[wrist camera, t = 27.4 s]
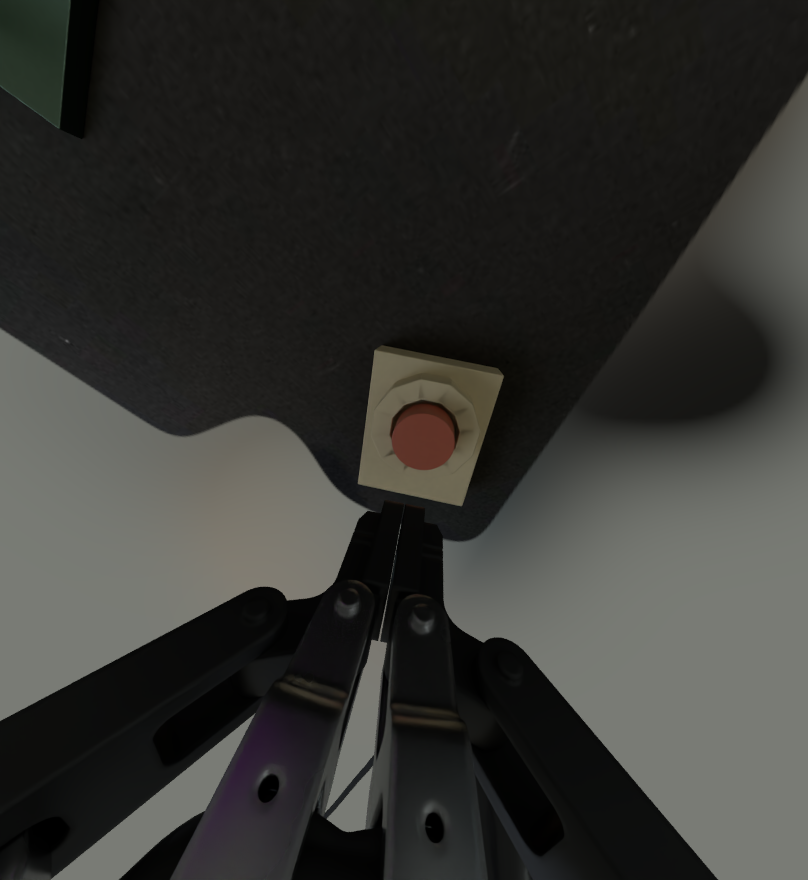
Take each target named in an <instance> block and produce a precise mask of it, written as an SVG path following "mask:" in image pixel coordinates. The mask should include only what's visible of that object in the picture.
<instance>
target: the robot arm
mask: <svg viewBox="0 0 808 880" xmlns="http://www.w3.org/2000/svg"><path fill="white" fill-rule="evenodd" d="M403 507H404V504H403V503H398V502H393V501H388V500H385V501H384V505H383V508H382V512H381V513H376V512H371V511H367V512H366V513H365V514H364V515H363V516H362V517H361V518H359V520H358V522H357V525H356V528H355V531H354V533H353V536H352V538H351V542H350V544H349V546H348V549H347V552H346V554H345V557H344V560H343V562H342V565H341V568H340V571H339V573H338V576H337V578H336V580H335V582H334V583H333V585H332V586H330V587H329V588H328V589H327V590H326V591H325V592H324V593H322V594H320V595H318V596H315V597H312V598H307V599H298V600H289V601H287V600H286V598H285V596H284V595H283V593H282V592H280V591H279V590H277V589H275V588H272V587H258V588H253V589H250V590H248V591H246V592H244V593H242V594H240V595H238V596H236V597H234V598H232V599H231V600H229V601H227V602H225V603H223V604H221V605H219V606H217V607H215V608H214V609H212V610H210V611H208V612H206V613H204V614H202V615H200V616H198V617H196V618H195V619H193V620H191V621H189V622H187V623H185V624H183V625H181V626H179V627H178V628H176V629H174V630H172V631H170V632H168V633H166V634H164V635H163V636H160V637H159V638H157V639H155V640H153V641H151V642H149V643H147V644H146V645H143V646H142V647H140V648H138V649H136V650H134V651H132V652H130V653H128V654H126V655H125V656H123V657H121V658H119V659H117V660H115V661H113V662H112V663H109V664H107V665H106V666H104V667H102V668H100V669H98V670H96V671H94V672H92V673H90V674H89V675H87V676H85V677H83V678H81V679H79V680H77V681H75V682H73V683H72V684H70V685H68V686H66V687H64V688H62V689H60V690H58V691H56V692H55V693H53V694H51V695H49V696H47V697H45V698H43V699H41V700H39V701H37V702H36V703H34V704H32V705H30V706H28V707H26V708H25V709H22V710H20V711H19V712H17V713H15V714H13V715H11V716H9V717H7V718H5V719H3V720H1V721H0V880H51V879H52V878H53V877H54V876H55V875H57V874H58V873H59V872H60V871H62V870H63V869H64V868H65V867H66V866H68V865H69V864H70V863H71V862H73V861H74V860H75V859H76V858H78V857H79V856H80V855H81V854H82V853H84V852H85V851H86V850H87V849H89V848H90V847H91V846H92V845H93V844H95V843H96V842H97V841H98V840H100V839H101V838H102V837H103V836H105V835H106V834H107V833H108V832H110V831H111V830H112V829H113V828H114V827H116V826H117V825H118V824H119V823H121V822H122V821H123V820H124V819H126V818H127V817H128V816H129V815H130V814H132V813H133V812H134V811H135V810H137V809H138V808H139V807H140V806H142V805H143V804H144V803H145V802H146V801H148V800H149V799H150V798H151V797H153V796H154V795H155V794H156V793H158V792H159V791H160V790H161V789H162V788H164V787H165V786H166V785H167V784H169V783H170V782H171V781H172V780H174V779H175V778H176V777H177V776H178V775H180V774H181V773H182V772H183V771H185V770H186V769H187V768H188V767H190V766H191V765H192V764H193V763H194V762H196V761H197V760H198V759H199V758H201V757H202V756H203V755H204V754H205V753H207V752H208V751H209V750H210V749H212V748H213V747H214V746H215V745H217V744H218V743H219V742H220V741H222V740H223V739H224V738H225V737H226V736H228V735H229V734H230V733H231V732H233V731H234V730H235V729H236V728H238V727H239V726H240V725H241V724H242V723H244V722H245V721H246V720H247V719H249V718H250V717H251V716H252V715H254V714H255V716H254V718H253V719H252V721H251V723H250V725H249V727H248V729H247V731H246V733H245V735H244V737H243V739H242V741H241V743H240V745H239V747H238V748H237V750H236V752H235V754H234V756H233V758H232V760H231V762H230V764H229V766H228V768H227V770H226V772H225V774H224V776H223V778H222V779H221V782H220V784H219V785H218V787H217V789H216V791H215V793H214V795H213V797H212V799H211V801H210V803H209V805H208V807H207V809H206V811H204V812H202V813H200V814H198V815H196V816H194V817H193V818H191V819H190V820H188V821H187V822H185V823H184V824H182V825H181V826H179V827H178V828H176V829H175V830H174V831H173V832H171V833H170V834H169V835H167V836H166V837H165V838H164V839H162V840H161V841H160V842H159V843H158V844H157V845H155V846H154V847H153V848H152V849H151V850H150V851H149V852H148V853H147V854H146V855H145V856H144V857H143V858H141V859H140V860H139V861H138V862H137V863H136V864H135V865H134V866H133V867H132V868H131V869H130V870H129V871H128V872H127V873H126V874H125V875H124V876H122V878H120V879H119V880H718V879H717V878H716V877H715V876H714V874H713V873H712V872H711V871H710V870H709V869H708V867H707V866H706V865H705V864H704V863H703V861H702V860H701V859H700V858H699V857H698V856H697V854H696V853H695V852H694V851H693V850H692V848H691V847H690V846H689V845H688V844H687V843H686V842H685V840H684V839H683V838H682V837H681V836H680V834H679V833H678V832H677V831H676V830H675V829H674V827H673V826H672V825H671V824H670V822H669V821H668V820H667V819H666V818H665V817H664V815H663V814H662V813H661V812H660V811H659V810H658V808H657V807H656V806H655V805H654V804H653V802H652V801H651V800H650V799H649V798H648V797H647V795H646V794H645V793H644V792H643V791H642V790H641V788H640V787H639V786H638V785H637V784H636V782H635V781H634V780H633V779H632V778H631V777H630V775H629V774H628V773H627V772H626V771H625V769H624V768H623V767H622V766H621V765H620V763H619V762H618V761H617V760H616V759H615V758H614V756H613V755H612V754H611V753H610V752H609V751H608V749H607V748H606V747H605V746H604V745H603V743H602V742H601V741H600V740H599V739H598V737H597V736H596V735H595V734H594V733H593V732H592V730H591V729H590V728H589V727H588V726H587V725H586V723H585V722H584V721H583V720H582V719H581V717H580V716H579V715H578V714H577V713H576V712H575V711H574V709H573V708H572V707H571V706H570V705H569V703H568V702H567V701H566V700H565V699H564V697H563V696H562V695H561V694H560V693H559V691H558V690H557V689H556V688H555V687H554V686H553V684H552V683H551V682H550V681H549V680H548V679H547V677H546V676H545V675H544V674H543V673H542V671H541V670H540V669H539V668H538V667H537V666H536V664H535V663H534V662H533V661H532V660H531V659H530V657H529V656H528V655H527V654H526V653H525V652H524V650H523V649H521V648H520V647H519V646H518V645H516V644H515V643H513V642H512V641H509V640H507V639H504V638H490V639H488V640H487V641H485V642H484V643H483V642H481V641H479V640H477V639H476V638H474V637H472V636H470V635H469V634H467V633H465V632H464V631H462V630H461V629H459V628H458V627H457V626H456V625H455V624H454V623H453V622H452V620H451V619H450V618H449V616H448V614H447V612H446V610H445V607H444V601H443V551H442V549H443V536H442V534H441V532H440V530H439V528H438V526H437V525H435V524H430V523H425V522H424V516H425V508H423V507H418V506H413V505H408V504H406V505H405V509H404V514H403V519H402V524H401V518H402V512H403ZM400 524H401V529H400ZM399 529H400V534H399ZM398 535H399V539H398ZM397 540H398V544H397ZM396 546H397V550H396ZM395 551H396V555H395ZM394 557H395V560H394ZM393 563H394V566H393ZM392 568H393V572H392ZM391 574H392V577H391ZM390 580H391V583H390ZM389 585H390V589H389ZM388 590H389V595H388ZM387 595H388V600H387ZM386 600H387V606H386V612H385V617H384V623H383V628H382V634H381V640H380V641H381V642H386V643H387V648H386V654H385V660H384V665H383V669H382V675H381V686H380V696H379V708H378V719H377V730H376V741H375V752H374V756H373V757H372V758H371V759H370V760H369V762H368V763H367V764H366V765H365V767H364V768H363V769H362V770H361V771H360V772H359V774H358V775H357V776H356V777H355V778H354V779H353V780H352V782H351V783H350V784H349V785H348V786H347V788H346V789H345V790H344V792H343V793H342V794H341V795H340V797H339V798H338V799H337V800H336V801H335V803H334V804H333V805H332V806H331V807H330V809H328V810H327V812H326V813H325V809H326V806H327V802H328V798H329V795H330V791H331V787H332V783H333V779H334V774H335V771H336V766H337V762H338V758H339V755H340V751H341V747H342V744H343V740H344V737H345V733H346V729H347V726H348V722H349V719H350V715H351V711H352V708H353V704H354V701H355V697H356V694H357V690H358V686H359V683H360V679H361V676H362V672H363V668H364V667H365V665H366V663H367V659H368V654H369V649H370V645H371V640H376V641H378V638H379V634H380V628H381V624H382V619H383V614H384V609H385V605H386ZM372 766H373V771H372V778H371V784H370V791H369V800H368V808H367V818H366V829H365V830H360V831H354V832H345V831H342V830H340V829H339V828H338V827H336V826H335V825H333V824H332V823H331V822H329V821H328V820H327V817H328V816H329V815H330V814H331V813H332V812H333V811H334V810H335V809H336V808H337V807H338V805H339V804H340V803H341V802H342V801H343V800H344V798H345V797H346V796H347V795H348V794H349V792H350V791H351V790H352V789H353V788H354V786H355V785H356V784H357V783H358V782H359V780H361V778H362V777H363V776H364V775H365V774H366V773H367V772H368V771H369V769H370V768H371V767H372ZM324 813H325V814H324Z"/></svg>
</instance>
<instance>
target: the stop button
mask: <svg viewBox="0 0 808 880" xmlns="http://www.w3.org/2000/svg"><path fill="white" fill-rule="evenodd" d="M392 447H393V450H394V453H395V455H396V456H397V457H398V459H399V460H400V461H401V462H402V463H404V464H405V465H407V466H408V467H411V468H413V469H417V470H431V469H435V468H437V467H440V466H441V465H443V464H444V463H445V462H447V461H448V459H449V458H450V457H451V455H452V453H453V451H454V447H455V437H454V426H453V423H452V420H451V418H450V417H449V415H448V414H447V413H446V412H445V411H444V410H442V409H441V408H439V407H437V406H435V405H431V404H417V405H414V406H411V407H409V408H408V409H406V410H405V411H404V412H403V413H402V414H401V415H400V417H399V418H398V421H397V423H396V426H395V429H394V431H393V434H392Z"/></svg>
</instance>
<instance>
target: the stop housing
mask: <svg viewBox="0 0 808 880" xmlns="http://www.w3.org/2000/svg"><path fill="white" fill-rule="evenodd" d="M503 378H504V375H503V374H502V373H501V372H500V370H499V369H498V368H494V367H489V366H484V365H478V364H473V363H468V362H463V361H458V360H453V359H448V358H443V357H438V356H433V355H428V354H423V353H418V352H413V351H408V350H403V349H398V348H393V347H388V346H383V345H382V346H380V347H379V348H377V349H376V350H375V353H374V361H373V369H372V377H371V384H370V392H369V400H368V408H367V416H366V424H365V432H364V440H363V448H362V456H361V464H360V472H359V480H358V484H361V485H365V486H370V487H375V488H379V489H384V490H389V491H393V492H398V493H403V494H407V495H412V496H416V497H421V498H426V499H430V500H435V501H440V502H444V503H449V504H454V505H458V506H462V504H463V501H464V498H465V495H466V492H467V489H468V486H469V483H470V480H471V477H472V474H473V470H474V467H475V464H476V461H477V458H478V455H479V452H480V449H481V446H482V443H483V439H484V436H485V433H486V430H487V427H488V424H489V421H490V418H491V415H492V412H493V409H494V405H495V402H496V399H497V396H498V393H499V390H500V387H501V384H502V381H503ZM417 404H431V405H435V406H437V407H439V408H441V409H442V410H444V411H445V412H446V413H447V414H448V415H449V417H450V418H451V420H452V423H453V426H454V437H455V447H454V451H453V453H452V455H451V457H450V458H449V459H448V461H447V462H445V463H444V464H443V465H441V466H440V467H437V468H435V469H431V470H417V469H413V468H411V467H408V466H407V465H405V464H404V463H402V462H401V461H400V460H399V459H398V457H397V456H396V455H395V453H394V450H393V447H392V434H393V431H394V429H395V426H396V423H397V421H398V418H399V417H400V415H401V414H402V413H403V412H404V411H405V410H406V409H408V408H409V407H411V406H414V405H417Z"/></svg>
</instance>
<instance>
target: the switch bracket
mask: <svg viewBox="0 0 808 880" xmlns="http://www.w3.org/2000/svg"><path fill="white" fill-rule="evenodd" d="M97 8H98V0H0V86H1V87H2V88H3V89H5V90H6V91H7V92H9V93H10V94H12V95H13V96H14V97H16V98H17V99H19V100H20V101H21V102H23V103H24V104H25V105H27V106H28V107H30V108H31V109H32V110H34V111H35V112H36V113H38V114H39V115H41V116H42V117H43V118H45V119H46V120H47V121H49V122H50V123H52V124H53V125H54V126H56V127H57V128H59V129H60V130H63V131H65V132H67V133H69V134H71V135H74V136H76V137H78V138H80V139H82V138H83V130H84V121H85V112H86V104H87V95H88V86H89V78H90V69H91V60H92V51H93V43H94V34H95V25H96V17H97Z"/></svg>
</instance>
